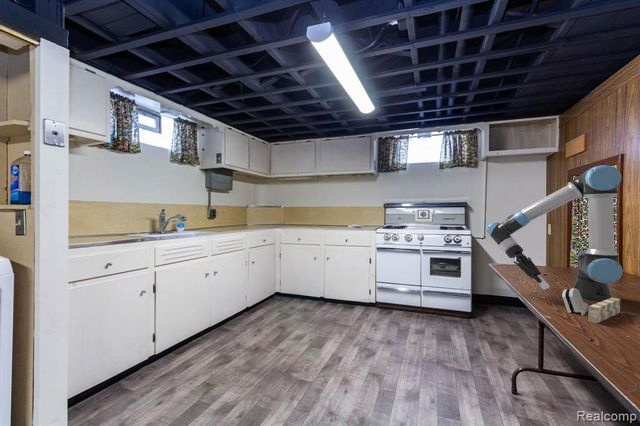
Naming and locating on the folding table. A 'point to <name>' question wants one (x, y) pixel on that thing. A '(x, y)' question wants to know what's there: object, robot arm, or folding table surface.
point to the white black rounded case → (574, 301)
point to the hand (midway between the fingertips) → (547, 288)
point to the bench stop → (603, 310)
